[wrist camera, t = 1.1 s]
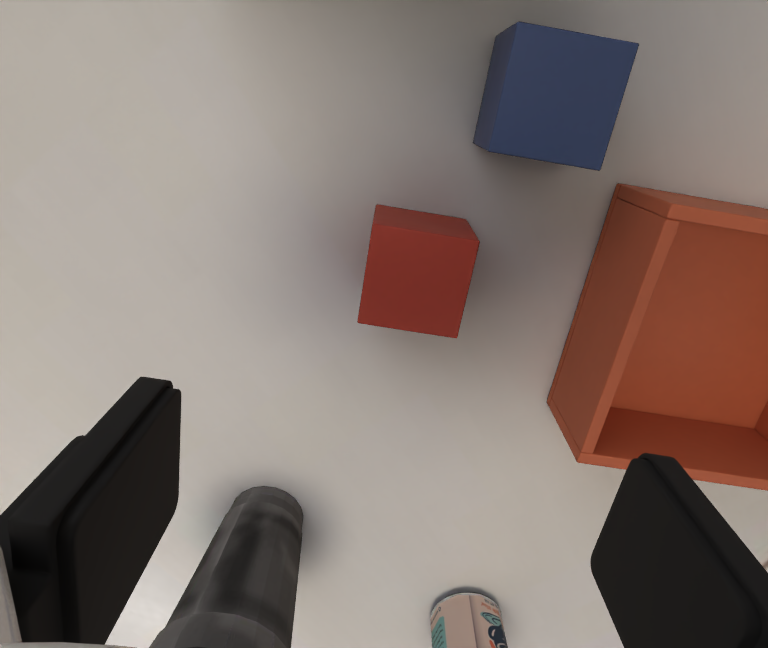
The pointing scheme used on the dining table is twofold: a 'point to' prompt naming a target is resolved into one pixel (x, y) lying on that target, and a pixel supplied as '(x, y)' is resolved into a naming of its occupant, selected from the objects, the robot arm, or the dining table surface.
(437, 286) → the red block
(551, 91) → the blue block
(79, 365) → the dining table surface
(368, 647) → the dining table surface
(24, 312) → the dining table surface
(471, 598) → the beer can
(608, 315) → the orange bin
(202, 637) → the beverage cup
